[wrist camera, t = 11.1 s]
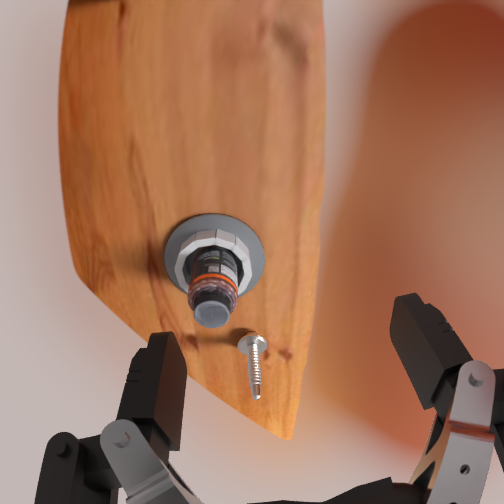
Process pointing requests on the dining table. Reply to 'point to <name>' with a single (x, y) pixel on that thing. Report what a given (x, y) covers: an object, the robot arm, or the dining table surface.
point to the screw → (253, 359)
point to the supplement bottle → (213, 286)
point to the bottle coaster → (215, 224)
